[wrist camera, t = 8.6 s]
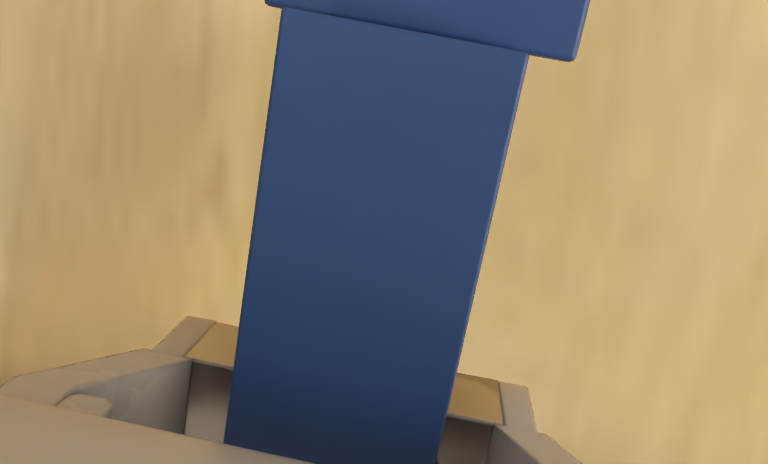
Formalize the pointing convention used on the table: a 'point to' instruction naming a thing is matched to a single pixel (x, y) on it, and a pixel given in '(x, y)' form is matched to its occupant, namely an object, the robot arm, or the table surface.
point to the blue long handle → (377, 217)
